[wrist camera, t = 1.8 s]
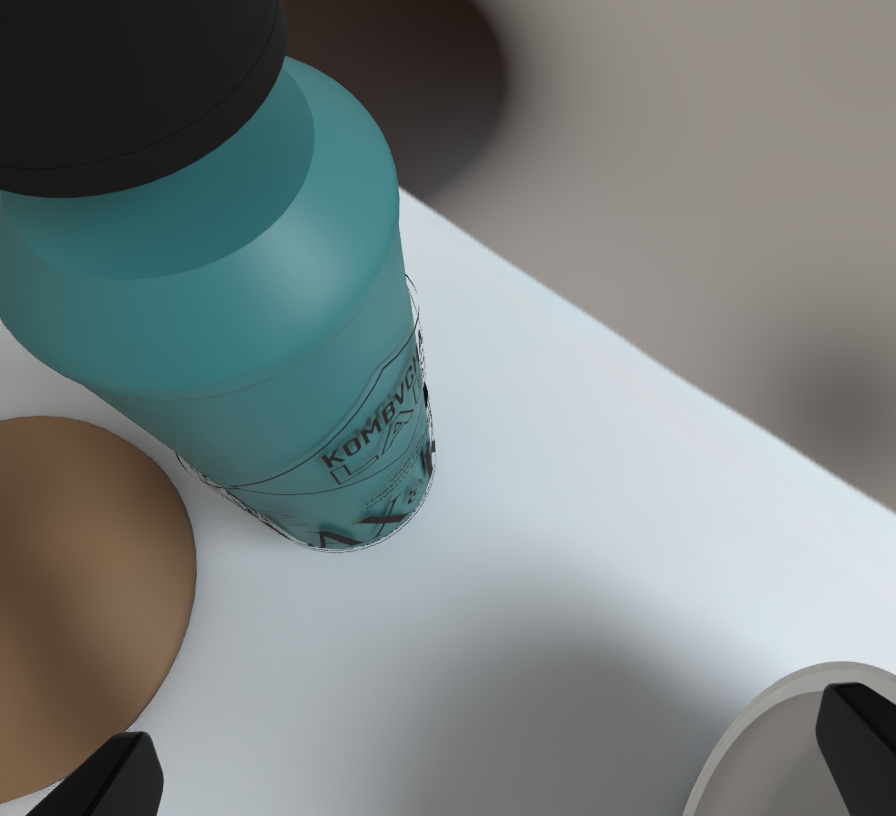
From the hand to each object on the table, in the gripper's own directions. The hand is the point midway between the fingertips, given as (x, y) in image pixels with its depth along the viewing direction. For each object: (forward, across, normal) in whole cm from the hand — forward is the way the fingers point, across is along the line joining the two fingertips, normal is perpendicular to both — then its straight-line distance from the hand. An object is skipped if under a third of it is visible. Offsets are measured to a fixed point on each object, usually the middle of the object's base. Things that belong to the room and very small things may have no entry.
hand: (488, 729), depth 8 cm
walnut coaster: (+12, +16, +7) cm, 22 cm away
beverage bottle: (+15, +4, +4) cm, 16 cm away
